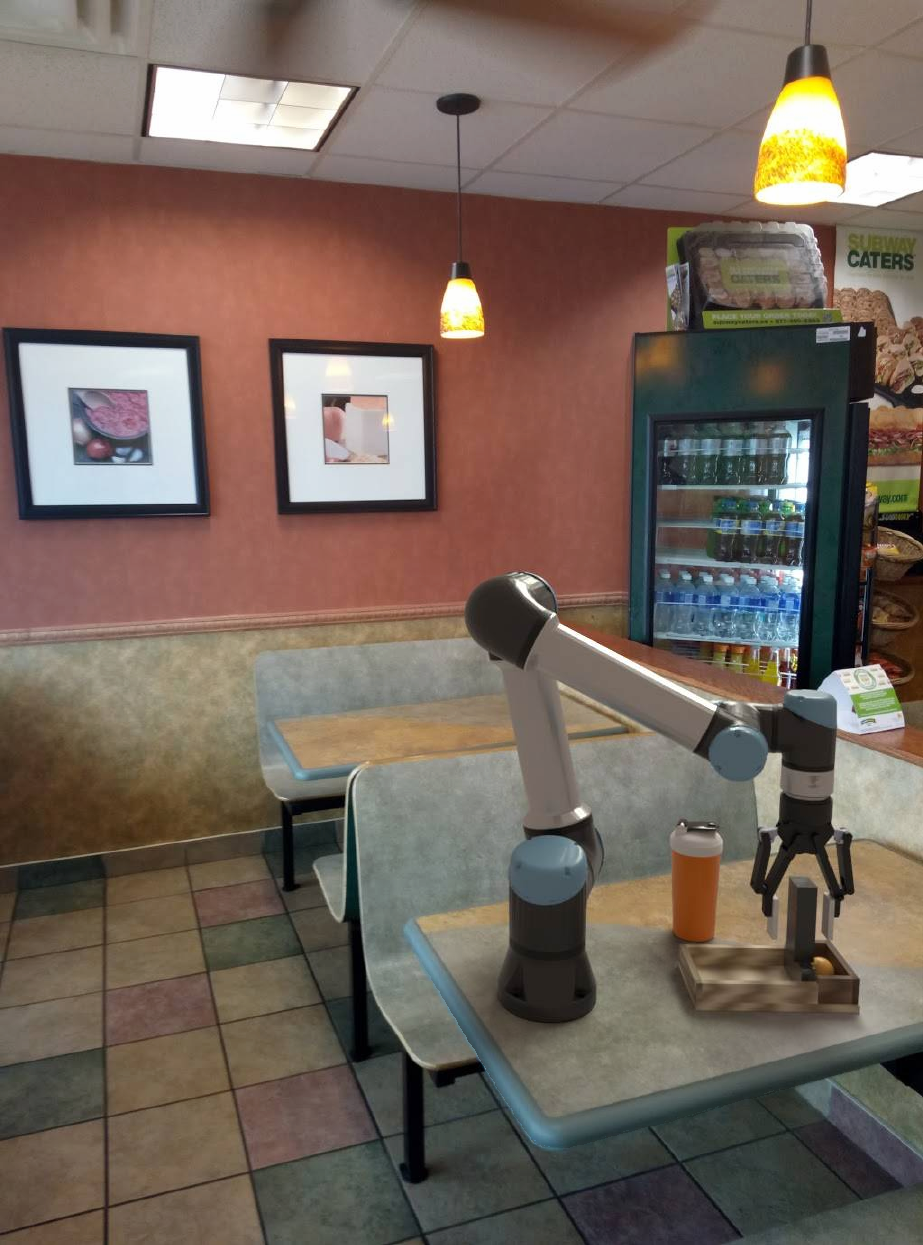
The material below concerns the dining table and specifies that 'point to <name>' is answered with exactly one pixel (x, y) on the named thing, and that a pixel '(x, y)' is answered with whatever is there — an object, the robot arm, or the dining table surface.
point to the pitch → (764, 980)
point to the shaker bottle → (695, 878)
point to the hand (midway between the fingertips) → (799, 935)
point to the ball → (822, 967)
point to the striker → (800, 929)
